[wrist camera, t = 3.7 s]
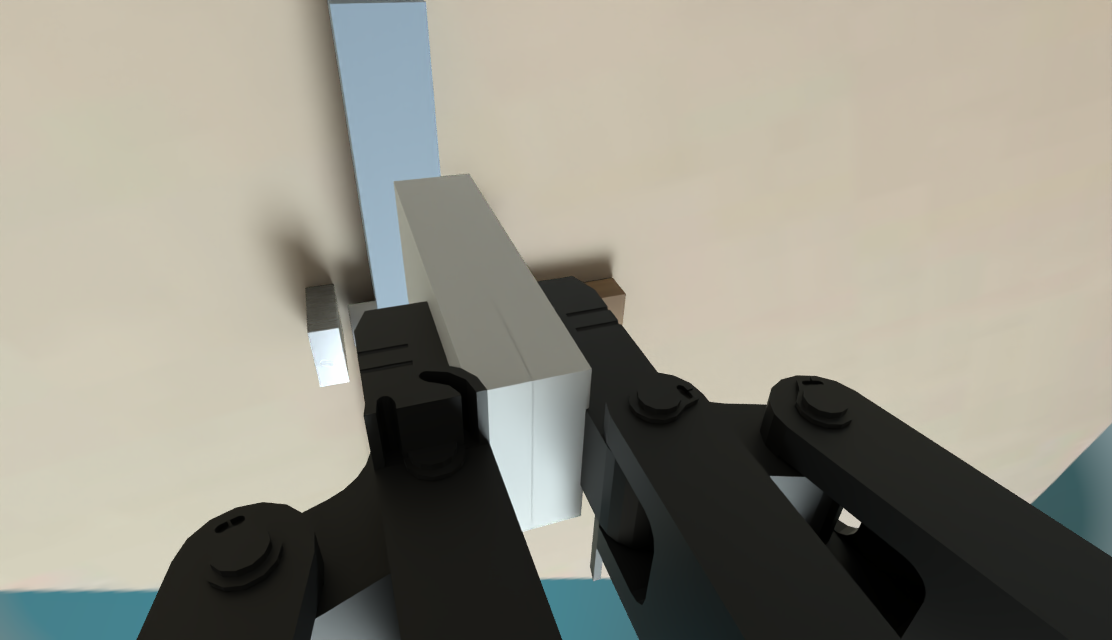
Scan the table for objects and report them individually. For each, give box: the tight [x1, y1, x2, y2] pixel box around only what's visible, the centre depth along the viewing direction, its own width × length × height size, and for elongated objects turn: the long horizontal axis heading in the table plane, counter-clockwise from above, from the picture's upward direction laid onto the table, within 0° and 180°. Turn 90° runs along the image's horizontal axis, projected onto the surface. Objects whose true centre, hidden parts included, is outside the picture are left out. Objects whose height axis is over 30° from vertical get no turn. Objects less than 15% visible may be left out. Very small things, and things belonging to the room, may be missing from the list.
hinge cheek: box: [306, 284, 349, 387], centre depth 23 cm, size 2×1×3 cm, turn 178°
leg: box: [327, 0, 441, 347], centre depth 22 cm, size 12×5×3 cm, turn 179°
